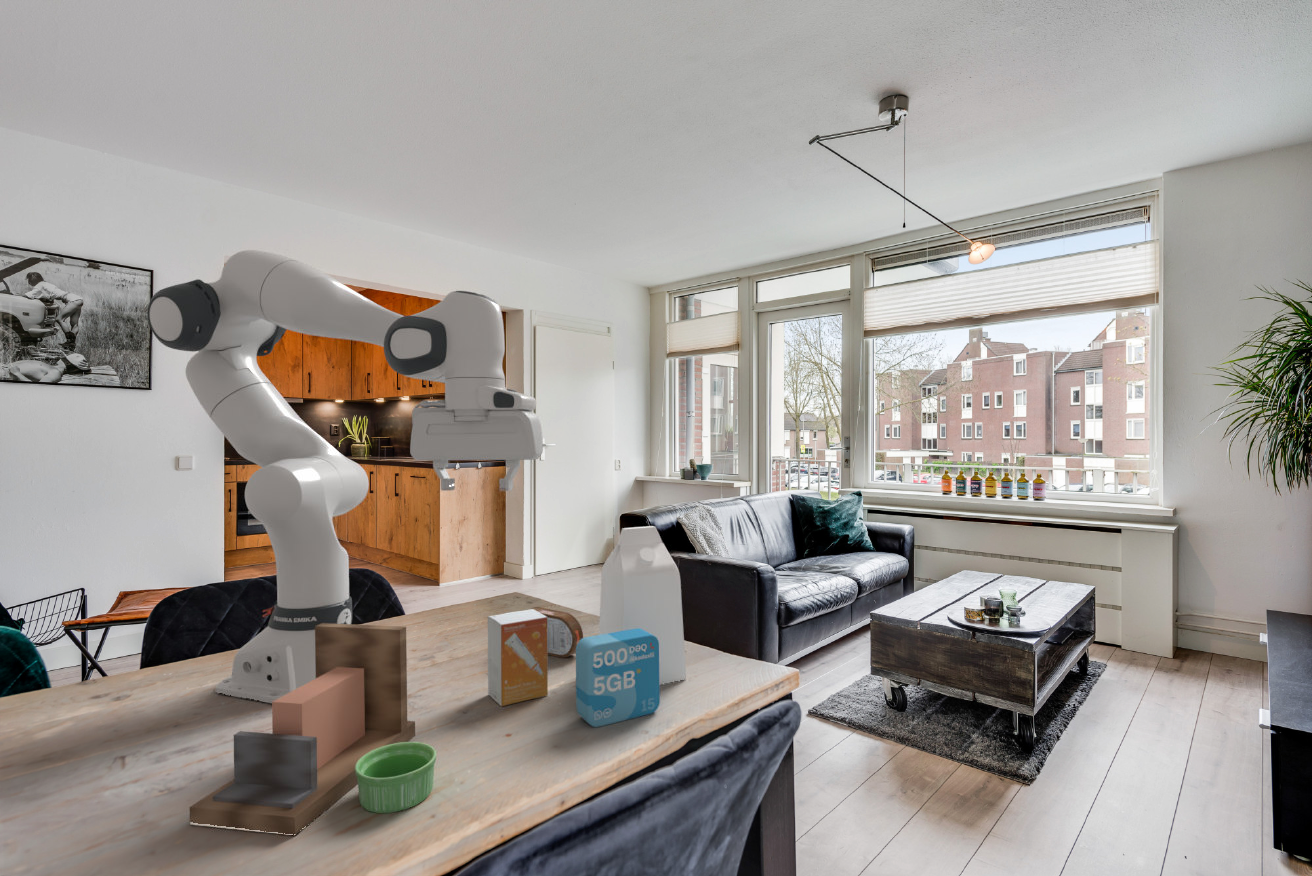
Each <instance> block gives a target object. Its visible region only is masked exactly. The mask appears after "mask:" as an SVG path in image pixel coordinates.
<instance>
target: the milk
mask: <svg viewBox="0 0 1312 876" xmlns="http://www.w3.org/2000/svg"><path fill="white" fill-rule="evenodd" d="M600 580H601V581H600V582H601V583H600V599H599V600H600V603H599V604H600V605H599V621H598V622H599V623H598V624H599V626H598V635H601V634H607V633H613V632H619V631H624V630H630V629H636V628H640V629H642V630H644V631H646V632H648V633H650V634H652V635H654V636H655V637H656V638H657V639H658V641H659V684H663V683H668V684H671V683H670V682H673V681H678V682H680V681H679V680H683V679H686V680H687V672H686V671H687V670H686V669H687V668H686V656H685V653H686V652H685V637H684V636H685V635H684V622H683V620H684V619H683V618H684V617H683V603H682V588H681V587H682V584H681V583H682V582H681V573H680V570H679V568H678V566H677V564H676V562H675V561H674V559H673V557H672V555H671V554H670V552H669V551H668V549H667V547H666V545H665V543H664V542H663V540H662V538H661V536H660V533H659V531H658V530H657V526H654V525H650V526H649V525H647V526H634V527H624V528H623V527H622V528H621V531H620V533H619V537H618V540H617V543H616V545H615V546H614V548H613V550H611V553H610V554H609V555H608V557H607V558H606V559H605V561H604V563H603V565H602V570H601V578H600ZM673 683H674V682H673ZM663 685H664V684H663Z"/></svg>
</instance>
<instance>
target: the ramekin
mask: <svg viewBox="0 0 1312 876" xmlns="http://www.w3.org/2000/svg"><path fill="white" fill-rule="evenodd" d="M436 760H437V751H436V749H435V748H434V747H433V746H432V745H430V744H427V743H425V742H419V741H408V742H401V743H395V744H390V745H386V746H383V747H380V748H377V749H375V750H372V751H370V752H369V753H367V754H365V755H364V756H362V757H361V758H360V759H359V760H358V761H357V763H356V765H355V774H356V776H357V780H358V784H357V786H358V787H357V788H358V797H359V803H360V805H361V807H362V808H363V809H364V810H367V811H368V812H371V813H375V814H376V813H377V814H391V813H397V811H398V812H401V810H402V811H404V810H408V809H410V807H411V808H412V807H415V806H418V804H421V803H422V802H423V801H424V800H426V799H427V798H428V797H429V796H430V795H431V794H432V790H433V787H434V786H433V785H434V774H435V772H434V771H435V763H436Z"/></svg>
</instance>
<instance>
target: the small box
mask: <svg viewBox="0 0 1312 876" xmlns="http://www.w3.org/2000/svg"><path fill="white" fill-rule="evenodd" d="M547 650H548V644H547V617H546V616H545V615H543V614H541V613H539V612H538V611H536V610H534V609H531V608H529V609H524V610H518V611H510V612H505V613H500V614H495V615H488V616H487V687H488V688H487V689H488V690H487V694H488V696H489V697H491V698H492V699H493V700H494V701H495V702H496V703H497V704H498V705H500V707H504V706H508V705H512V704H516V703H520V702H525V701H529V700H533V699H538V698H543V697H547V696H548V693H549V689H548V687H549V685H548V680H549V679H548V674H549V673H548V671H549V669H548V667H549V666H548V663H549V662H548V660H549V658H548V656H549V655H548V651H547Z"/></svg>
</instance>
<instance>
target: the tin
mask: <svg viewBox="0 0 1312 876" xmlns="http://www.w3.org/2000/svg"><path fill="white" fill-rule="evenodd" d="M530 609H534V610H536V611H538V612H539V613H541V614H543V615H545V616H546V617H547V644H548V650H547V651H548V656H553V657H556V658H561V659H562V658H563V659H564V658H567V657H570V656H572V655H574V654H575V655H576V646H577V644H578V642H579V641H580V640H581V639H582V638H584V631H583V628H582V626H581V623H580V622H579V621H578V619H577V618H576V617H575V616H574V615H573V614H571V613H569V612H568V611H567V612H566V611H561V610H556V609H550V608H545V607H540V606H534V607H531V608H530Z"/></svg>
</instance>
